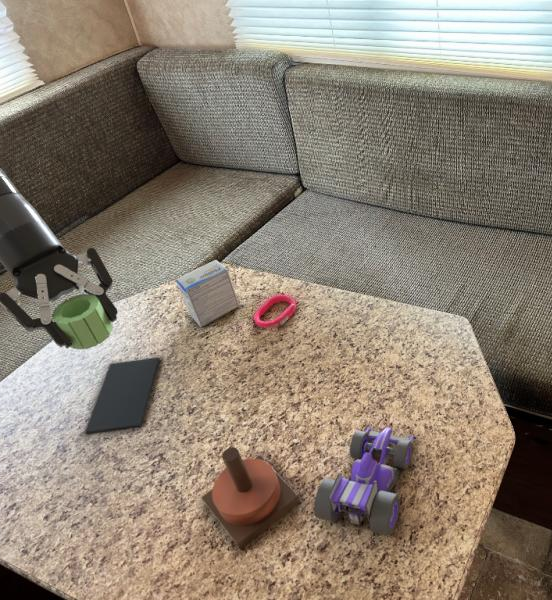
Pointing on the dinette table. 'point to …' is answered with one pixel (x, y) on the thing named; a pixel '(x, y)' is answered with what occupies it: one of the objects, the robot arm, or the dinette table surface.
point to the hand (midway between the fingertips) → (92, 332)
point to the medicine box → (208, 292)
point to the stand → (248, 497)
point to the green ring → (83, 321)
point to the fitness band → (281, 318)
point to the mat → (123, 396)
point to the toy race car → (367, 482)
